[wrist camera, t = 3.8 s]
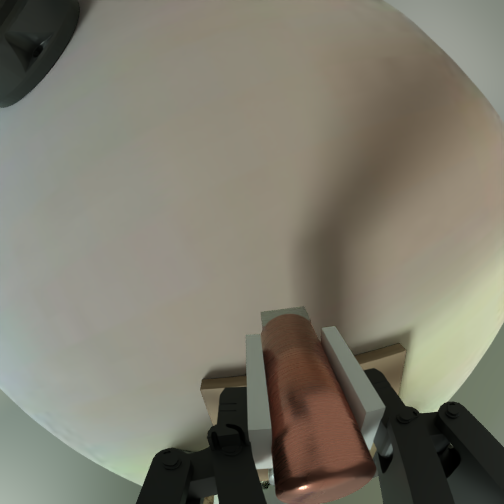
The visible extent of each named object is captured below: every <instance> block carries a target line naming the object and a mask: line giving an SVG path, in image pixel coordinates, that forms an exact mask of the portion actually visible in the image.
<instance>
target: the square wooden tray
mask: <svg viewBox="0 0 504 504" xmlns="http://www.w3.org/2000/svg"><path fill="white" fill-rule="evenodd" d="M405 356H406V350H405V348H404V347H403V346H402V345H401V344H400V343H398V344H394V345H391V346H388V347H384V348H381V349H377V350H374V351H370V352H366V353H363V354H359V355H355V356H354V357H355V358H356V360H357V361H358V363H359V365H360V366H361V368H362V369H363V370H367V369H371V368H375V369H377V370H379V371H380V372H382V373H383V374H384V376H385V377H386V379H387V381H388V382H389V383H390V384H391V387H393V389H394V390H395V392H396V393H397V395H398V394H399V389H400V384H401V379H402V374H403V368H404V363H405ZM225 387H247V375H246V376H237V377H227V378H216V379H203V380H202V383H201V388H200V391H201V394H202V397H203V399H204V402H205V405H206V408H207V410H208V413H209V416H210V419H211V421H212V424H213V426H214V425H216V424H217V417H218V407H219V397H220V394H221V393H222V391H223V390H224V388H225ZM375 465H376V461H375ZM257 472H258V476H259V479H260V481H268V480H269V476H268V468H267V469H257ZM377 476H378V471H377V466H376V473H375V475H374V477H377ZM374 477H373V478H374Z"/></svg>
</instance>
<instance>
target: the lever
mask: <svg viewBox="0 0 504 504" xmlns="http://www.w3.org/2000/svg"><path fill="white" fill-rule="evenodd" d="M261 320H262V329H263V330H262V333H261V344H262V352H263V360H264V369H265V377H266V386H267V394H268V403H269V411H270V419H271V428H272V447H271V453H272V463H273V468H268V476H269V483H270V484H271V485H273V486H275V494H276V497H277V498H278V499H279V500H280V501H282V502H284V503H287V504H321V503H326V502H330V501H334V500H337V499H339V498H342V497H345V496H347V495H349V494H351V493H353V492H355V491H357V490H359V489H360V488H362V487H363V486H364V485H366V484H367V483H368V482H369V481H370V480H371V479H372V478H373V477H374V475H375V473H376V465H375V463H374V461H373V458H372V456H371V454H370V451H369V449H368V447H367V445H366V442H365V440H364V438H363V435H362V433H361V431H360V429H359V426H358V424H357V422H356V420H355V417H354V415H353V413H352V411H351V408H350V406H349V404H348V402H347V399H346V397H345V395H344V393H343V391H342V388H341V386H340V384H339V382H338V380H337V378H336V375H335V373H334V371H333V369H332V367H331V365H330V362H329V360H328V358H327V356H326V354H325V352H324V350H323V347H322V345H321V343H320V341H319V339H318V337H317V335H316V333H315V331H314V328H313V326H312V325H311V320H310V318H309V315H308V313H307V311H306V309H305V307H304V306H303V307H296V308H288V309H280V310H272V311H264V312H261Z"/></svg>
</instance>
